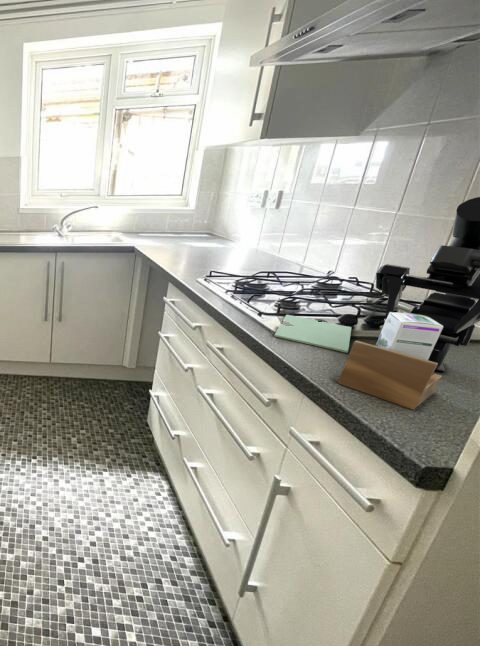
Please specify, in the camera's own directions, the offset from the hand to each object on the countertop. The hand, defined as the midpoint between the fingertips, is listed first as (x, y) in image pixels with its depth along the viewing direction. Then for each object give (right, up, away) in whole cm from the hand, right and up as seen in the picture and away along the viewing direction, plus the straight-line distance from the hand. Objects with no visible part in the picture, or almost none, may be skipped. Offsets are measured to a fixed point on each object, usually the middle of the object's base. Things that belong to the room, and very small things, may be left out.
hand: (419, 323), depth 77 cm
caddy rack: (-3, -12, +3) cm, 13 cm away
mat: (+5, -1, +29) cm, 29 cm away
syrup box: (-3, -13, +3) cm, 13 cm away
